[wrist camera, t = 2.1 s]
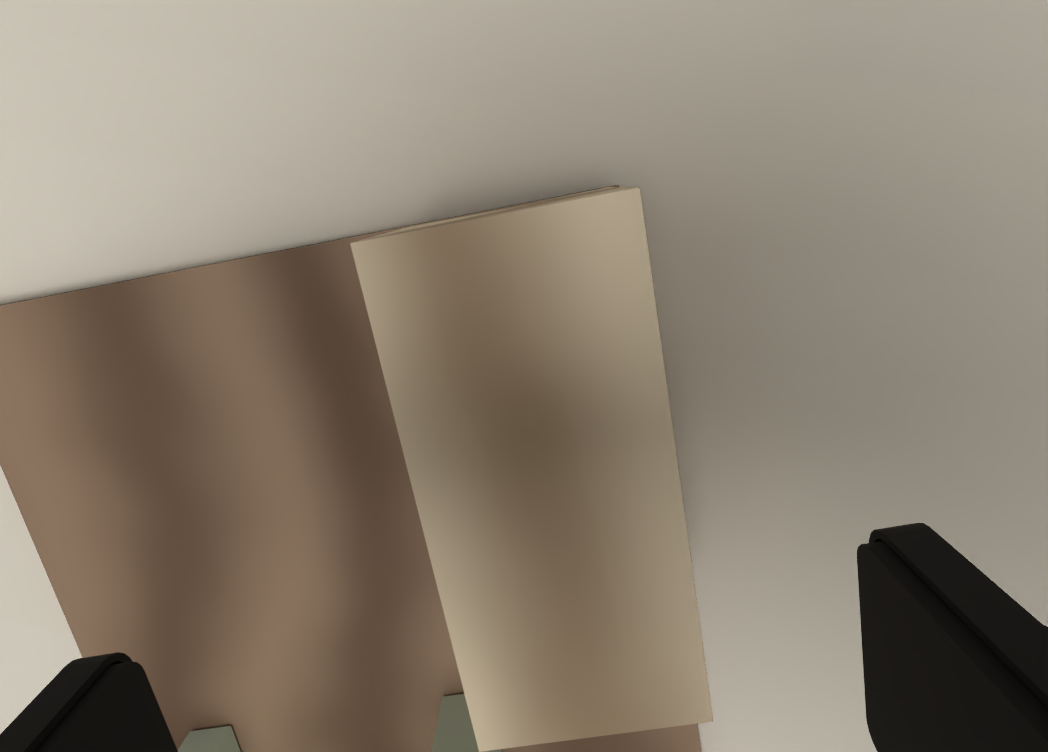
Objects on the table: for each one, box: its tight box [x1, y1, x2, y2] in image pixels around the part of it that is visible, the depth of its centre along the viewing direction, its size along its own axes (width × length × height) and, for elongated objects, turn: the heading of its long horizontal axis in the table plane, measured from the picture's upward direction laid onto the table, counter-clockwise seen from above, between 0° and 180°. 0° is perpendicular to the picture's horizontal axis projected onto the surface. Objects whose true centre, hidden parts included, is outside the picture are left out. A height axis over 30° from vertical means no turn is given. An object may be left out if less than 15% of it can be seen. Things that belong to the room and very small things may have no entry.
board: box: [0, 185, 701, 752], centre depth 20 cm, size 20×29×7 cm
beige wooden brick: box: [350, 187, 713, 752], centre depth 17 cm, size 6×12×6 cm, turn 11°
